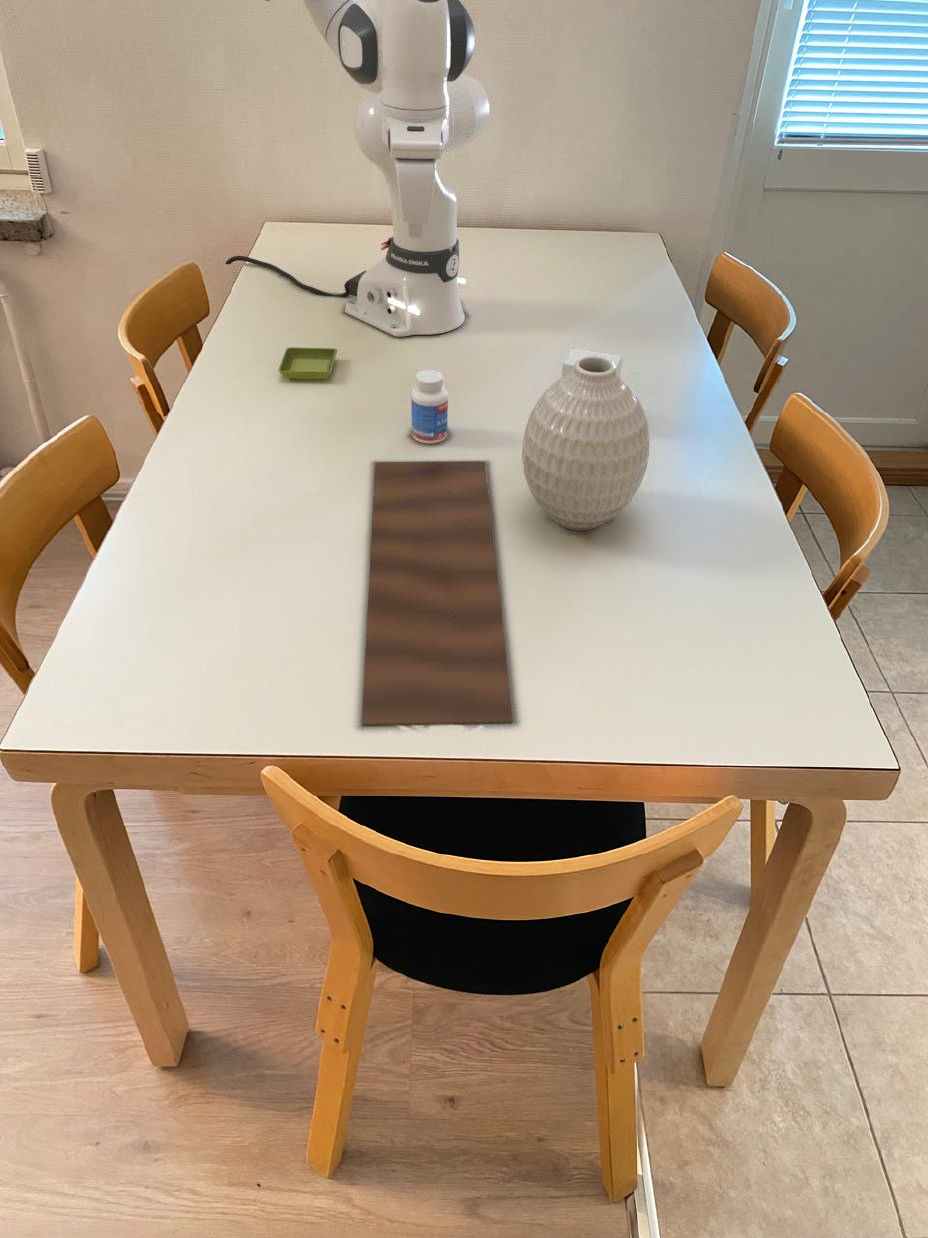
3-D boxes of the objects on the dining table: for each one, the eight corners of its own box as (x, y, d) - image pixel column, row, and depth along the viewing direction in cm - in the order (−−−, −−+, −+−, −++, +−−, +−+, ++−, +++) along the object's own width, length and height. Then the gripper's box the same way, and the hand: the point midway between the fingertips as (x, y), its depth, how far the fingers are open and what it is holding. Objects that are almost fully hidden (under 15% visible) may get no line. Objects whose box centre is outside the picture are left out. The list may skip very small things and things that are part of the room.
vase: (605, 567, 123) (628, 411, 108) (496, 525, 129) (503, 373, 115) (656, 506, 133) (683, 356, 119) (553, 470, 140) (566, 324, 125)
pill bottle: (443, 446, 144) (443, 387, 138) (408, 442, 145) (406, 382, 138) (450, 428, 148) (451, 369, 142) (416, 424, 149) (415, 365, 142)
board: (375, 464, 140) (375, 461, 140) (485, 463, 141) (485, 460, 141) (361, 725, 102) (361, 722, 102) (512, 722, 103) (512, 720, 102)
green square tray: (278, 382, 158) (277, 370, 157) (287, 358, 165) (286, 346, 163) (331, 384, 158) (330, 372, 157) (338, 359, 165) (337, 348, 163)
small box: (615, 418, 151) (623, 355, 144) (607, 435, 147) (615, 371, 140) (565, 409, 153) (571, 346, 146) (556, 425, 149) (562, 362, 142)
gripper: (391, 106, 134) (393, 209, 143) (390, 147, 118) (391, 260, 127) (437, 107, 134) (435, 210, 143) (441, 148, 119) (439, 261, 128)
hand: (415, 234), depth 135 cm, fingers closed
